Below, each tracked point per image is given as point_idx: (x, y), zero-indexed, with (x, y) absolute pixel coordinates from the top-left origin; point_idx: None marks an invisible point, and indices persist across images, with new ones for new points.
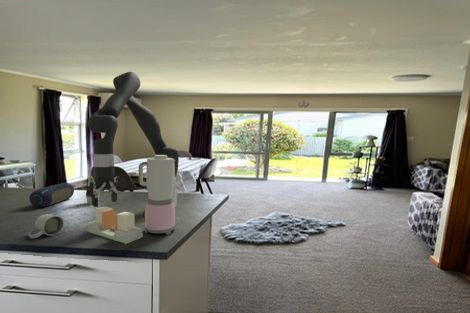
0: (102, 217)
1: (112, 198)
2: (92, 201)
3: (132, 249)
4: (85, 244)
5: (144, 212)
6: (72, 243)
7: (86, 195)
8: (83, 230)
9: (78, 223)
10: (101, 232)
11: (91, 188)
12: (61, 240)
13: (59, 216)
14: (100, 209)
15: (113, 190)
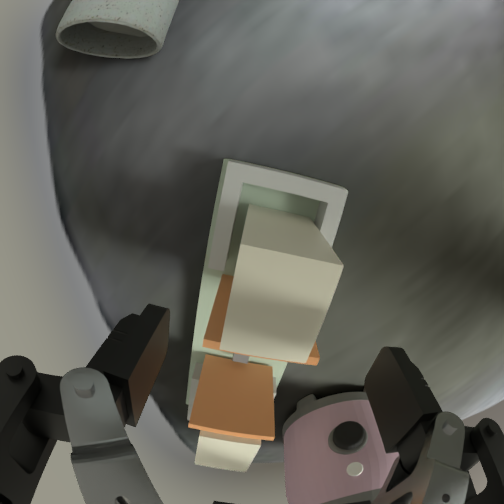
0: (209, 318)
1: (390, 379)
2: (106, 351)
3: (169, 416)
4: (111, 278)
5: (339, 447)
6: (93, 221)
7: (4, 362)
8: (234, 123)
9: (318, 19)
10: (201, 285)
11: (6, 491)
12: (94, 147)
13: (113, 21)
14: (233, 306)
15: (382, 489)
